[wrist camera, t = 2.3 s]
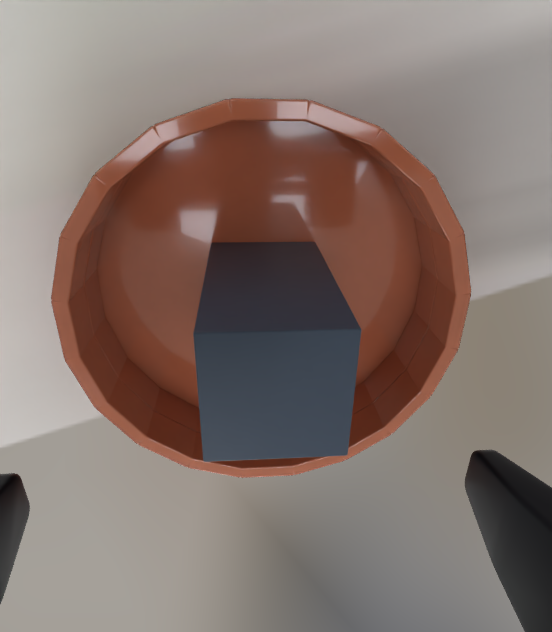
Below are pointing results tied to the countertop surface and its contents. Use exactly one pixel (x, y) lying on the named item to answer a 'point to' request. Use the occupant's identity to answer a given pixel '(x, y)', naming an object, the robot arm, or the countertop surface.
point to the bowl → (256, 226)
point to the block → (273, 354)
